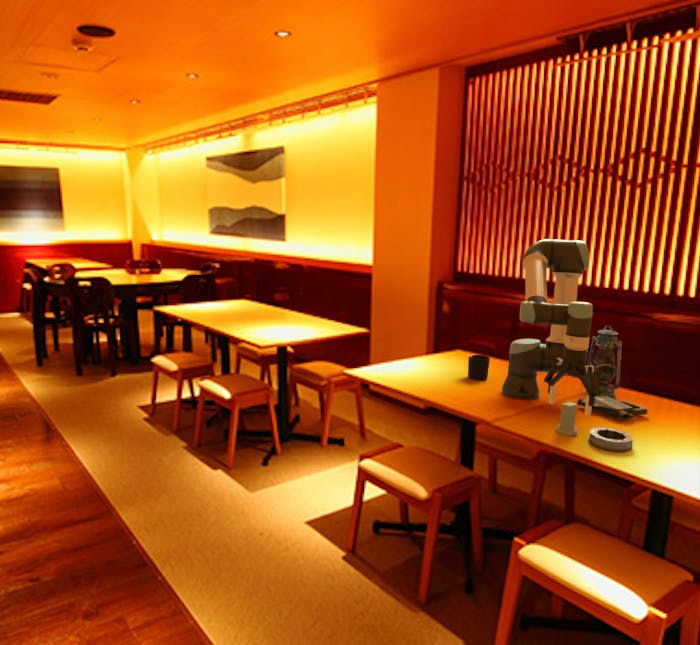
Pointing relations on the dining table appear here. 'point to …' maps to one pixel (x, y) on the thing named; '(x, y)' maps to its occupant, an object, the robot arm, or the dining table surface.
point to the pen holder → (478, 367)
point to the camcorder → (615, 408)
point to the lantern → (606, 361)
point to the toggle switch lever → (567, 420)
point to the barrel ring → (610, 440)
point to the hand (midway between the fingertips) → (569, 409)
